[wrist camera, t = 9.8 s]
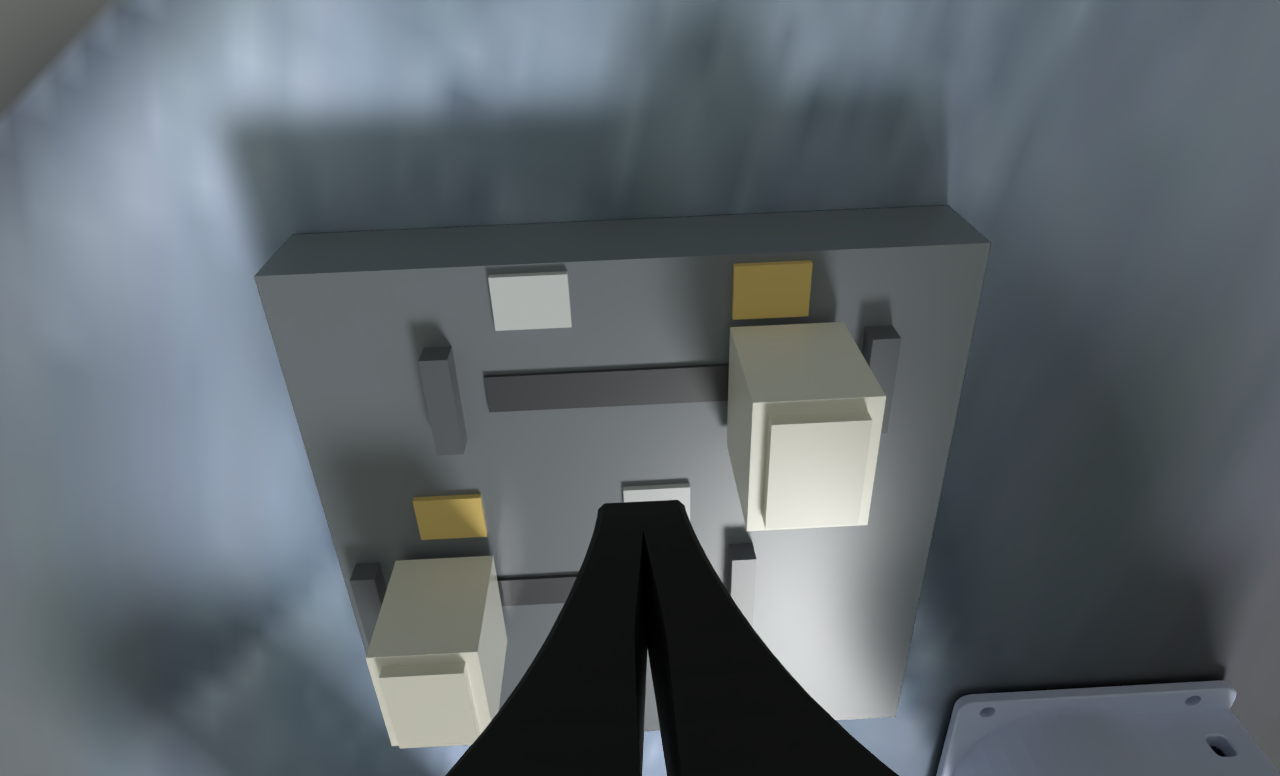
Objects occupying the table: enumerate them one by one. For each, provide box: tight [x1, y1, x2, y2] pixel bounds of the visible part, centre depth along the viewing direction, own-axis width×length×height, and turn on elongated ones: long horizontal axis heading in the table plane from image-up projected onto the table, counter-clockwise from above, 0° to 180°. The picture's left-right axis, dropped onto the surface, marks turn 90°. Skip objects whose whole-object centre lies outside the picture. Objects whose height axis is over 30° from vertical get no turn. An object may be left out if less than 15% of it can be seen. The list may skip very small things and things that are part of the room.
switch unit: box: [254, 205, 991, 731], centre depth 21 cm, size 15×15×3 cm
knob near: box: [727, 322, 886, 531], centre depth 16 cm, size 2×3×3 cm
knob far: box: [366, 556, 507, 749], centre depth 19 cm, size 2×3×3 cm
